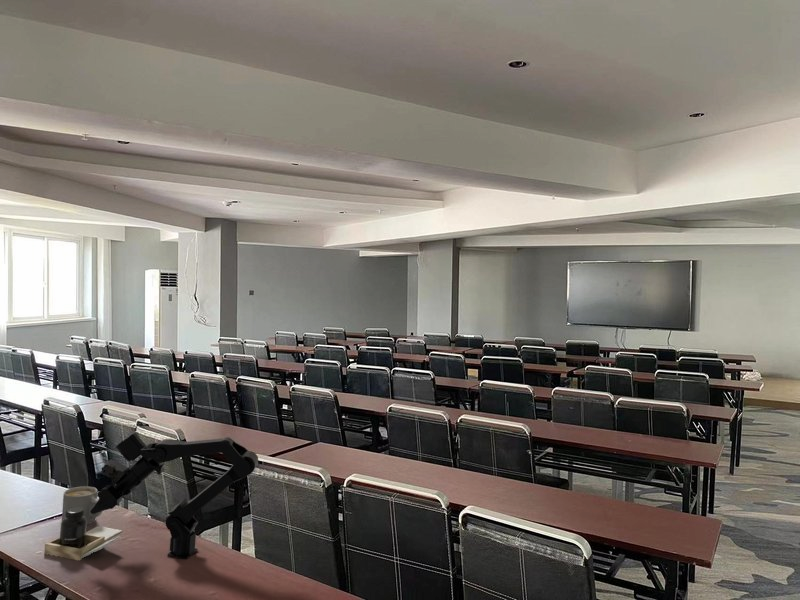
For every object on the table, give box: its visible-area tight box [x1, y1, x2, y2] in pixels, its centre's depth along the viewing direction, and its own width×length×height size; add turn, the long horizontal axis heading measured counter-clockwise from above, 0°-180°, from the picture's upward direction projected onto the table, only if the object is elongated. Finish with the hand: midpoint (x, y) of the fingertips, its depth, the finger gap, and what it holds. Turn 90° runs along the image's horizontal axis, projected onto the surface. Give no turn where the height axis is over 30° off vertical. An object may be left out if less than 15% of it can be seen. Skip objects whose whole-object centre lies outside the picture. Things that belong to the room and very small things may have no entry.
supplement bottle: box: [59, 507, 88, 549], centre depth 172 cm, size 7×7×12 cm
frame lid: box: [81, 535, 123, 559], centre depth 170 cm, size 7×8×4 cm
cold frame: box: [43, 533, 106, 561], centre depth 172 cm, size 12×10×3 cm
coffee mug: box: [61, 486, 103, 526], centre depth 192 cm, size 13×10×10 cm
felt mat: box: [86, 525, 123, 542], centre depth 184 cm, size 9×9×1 cm
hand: (98, 507), depth 173 cm, fingers open, 9 cm apart
